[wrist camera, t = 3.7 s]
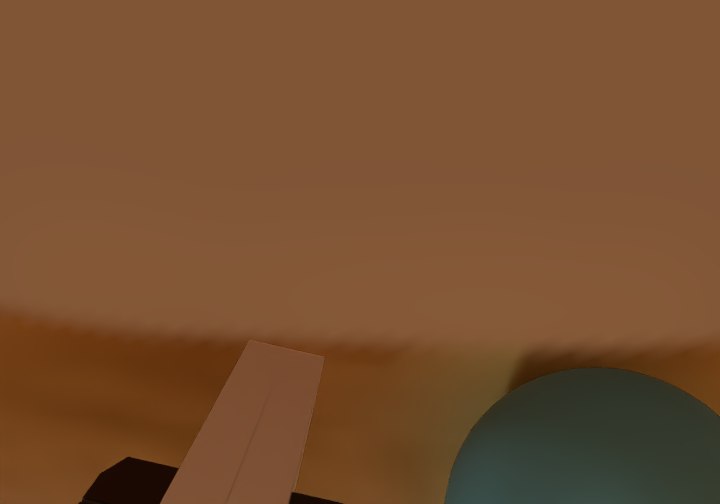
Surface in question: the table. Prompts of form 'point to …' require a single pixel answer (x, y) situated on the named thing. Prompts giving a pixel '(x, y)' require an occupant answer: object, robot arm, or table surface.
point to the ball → (591, 444)
